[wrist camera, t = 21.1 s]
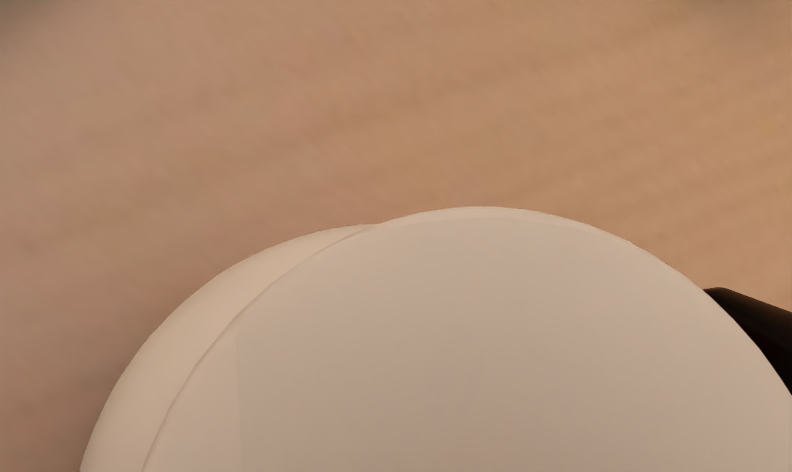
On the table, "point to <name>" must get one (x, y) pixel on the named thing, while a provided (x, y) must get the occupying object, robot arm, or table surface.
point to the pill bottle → (448, 360)
